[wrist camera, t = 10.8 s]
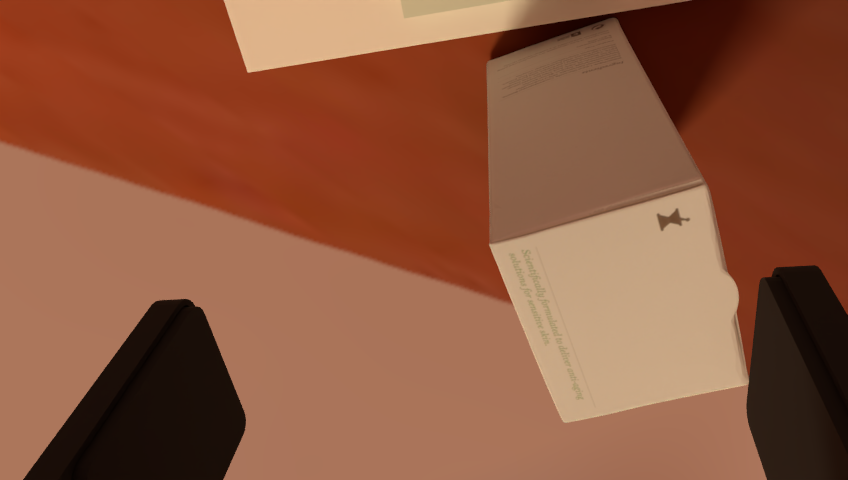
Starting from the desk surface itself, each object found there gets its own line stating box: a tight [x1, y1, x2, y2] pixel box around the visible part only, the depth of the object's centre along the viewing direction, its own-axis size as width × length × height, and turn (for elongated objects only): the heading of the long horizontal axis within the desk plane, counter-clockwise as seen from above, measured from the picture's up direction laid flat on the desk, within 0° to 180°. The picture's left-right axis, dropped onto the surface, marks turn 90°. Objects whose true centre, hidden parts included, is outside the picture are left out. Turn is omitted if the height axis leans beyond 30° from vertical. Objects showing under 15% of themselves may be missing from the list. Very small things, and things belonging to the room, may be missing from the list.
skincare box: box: [487, 18, 749, 423], centre depth 28 cm, size 8×7×16 cm
